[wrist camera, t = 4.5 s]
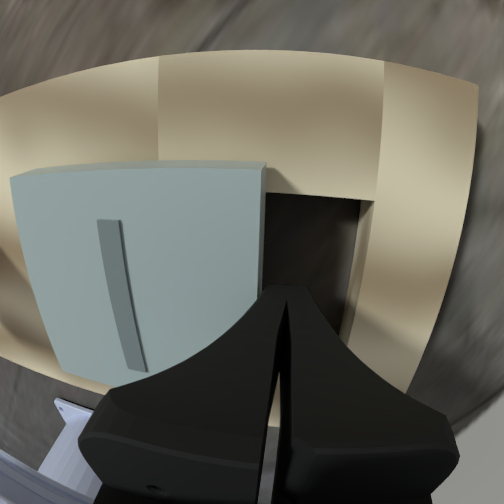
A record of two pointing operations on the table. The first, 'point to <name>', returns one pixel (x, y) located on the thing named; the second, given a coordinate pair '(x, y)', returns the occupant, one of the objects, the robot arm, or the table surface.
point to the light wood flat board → (269, 171)
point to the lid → (140, 258)
